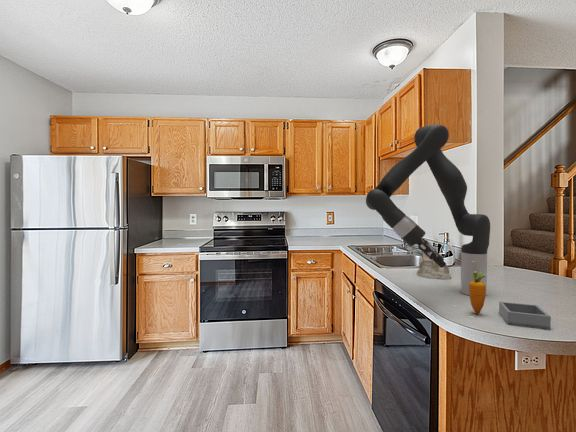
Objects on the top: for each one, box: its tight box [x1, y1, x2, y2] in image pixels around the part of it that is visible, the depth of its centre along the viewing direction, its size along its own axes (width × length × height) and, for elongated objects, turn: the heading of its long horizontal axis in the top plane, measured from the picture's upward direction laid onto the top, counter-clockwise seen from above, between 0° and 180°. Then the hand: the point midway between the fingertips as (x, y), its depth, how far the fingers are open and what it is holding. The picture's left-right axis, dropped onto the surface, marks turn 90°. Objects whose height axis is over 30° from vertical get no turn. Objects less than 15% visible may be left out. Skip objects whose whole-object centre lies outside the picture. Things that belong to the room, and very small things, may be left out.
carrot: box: [468, 271, 486, 315], centre depth 103 cm, size 5×5×15 cm
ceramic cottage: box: [416, 252, 452, 281], centre depth 158 cm, size 16×16×15 cm
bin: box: [498, 301, 552, 331], centre depth 97 cm, size 11×11×4 cm
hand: (443, 263), depth 107 cm, fingers open, 8 cm apart
